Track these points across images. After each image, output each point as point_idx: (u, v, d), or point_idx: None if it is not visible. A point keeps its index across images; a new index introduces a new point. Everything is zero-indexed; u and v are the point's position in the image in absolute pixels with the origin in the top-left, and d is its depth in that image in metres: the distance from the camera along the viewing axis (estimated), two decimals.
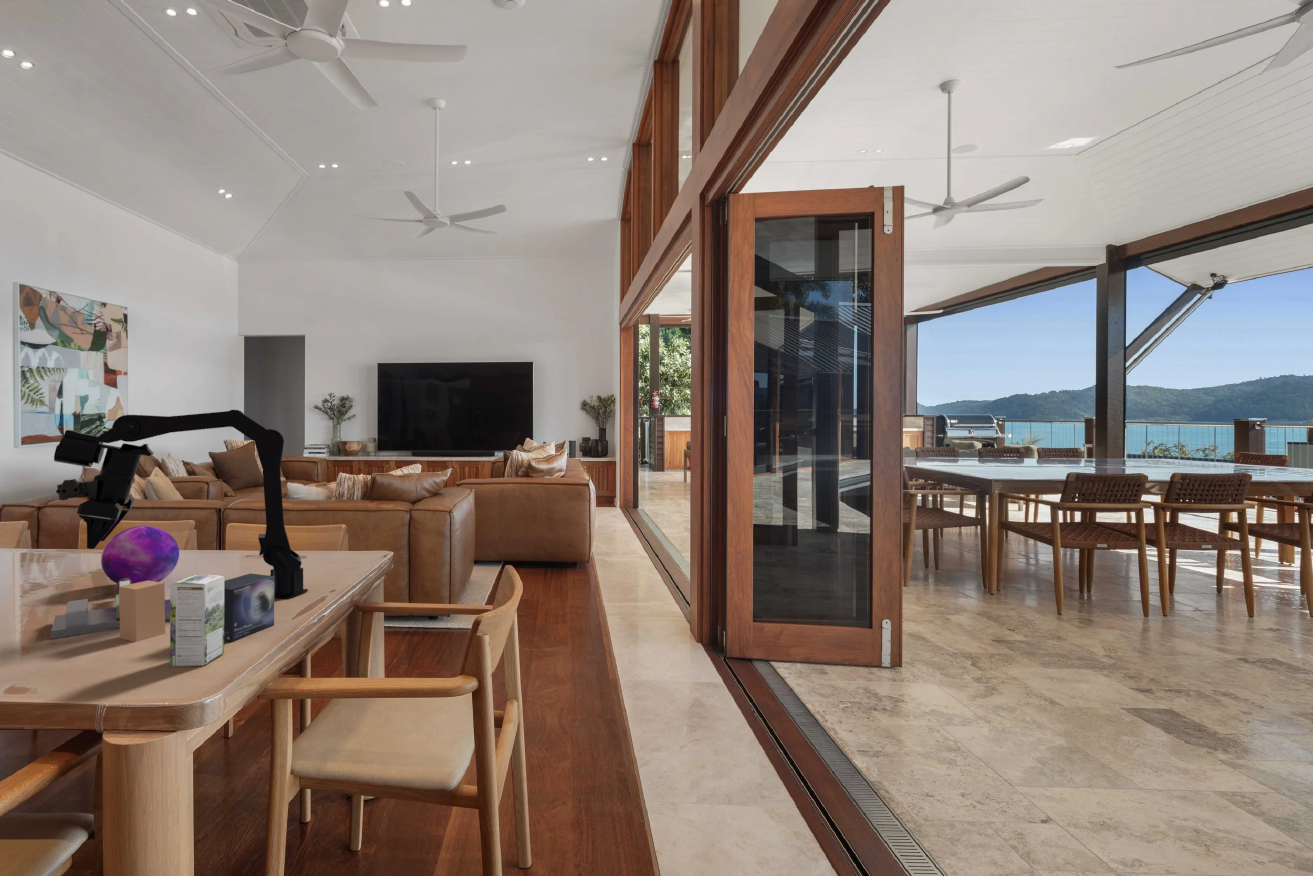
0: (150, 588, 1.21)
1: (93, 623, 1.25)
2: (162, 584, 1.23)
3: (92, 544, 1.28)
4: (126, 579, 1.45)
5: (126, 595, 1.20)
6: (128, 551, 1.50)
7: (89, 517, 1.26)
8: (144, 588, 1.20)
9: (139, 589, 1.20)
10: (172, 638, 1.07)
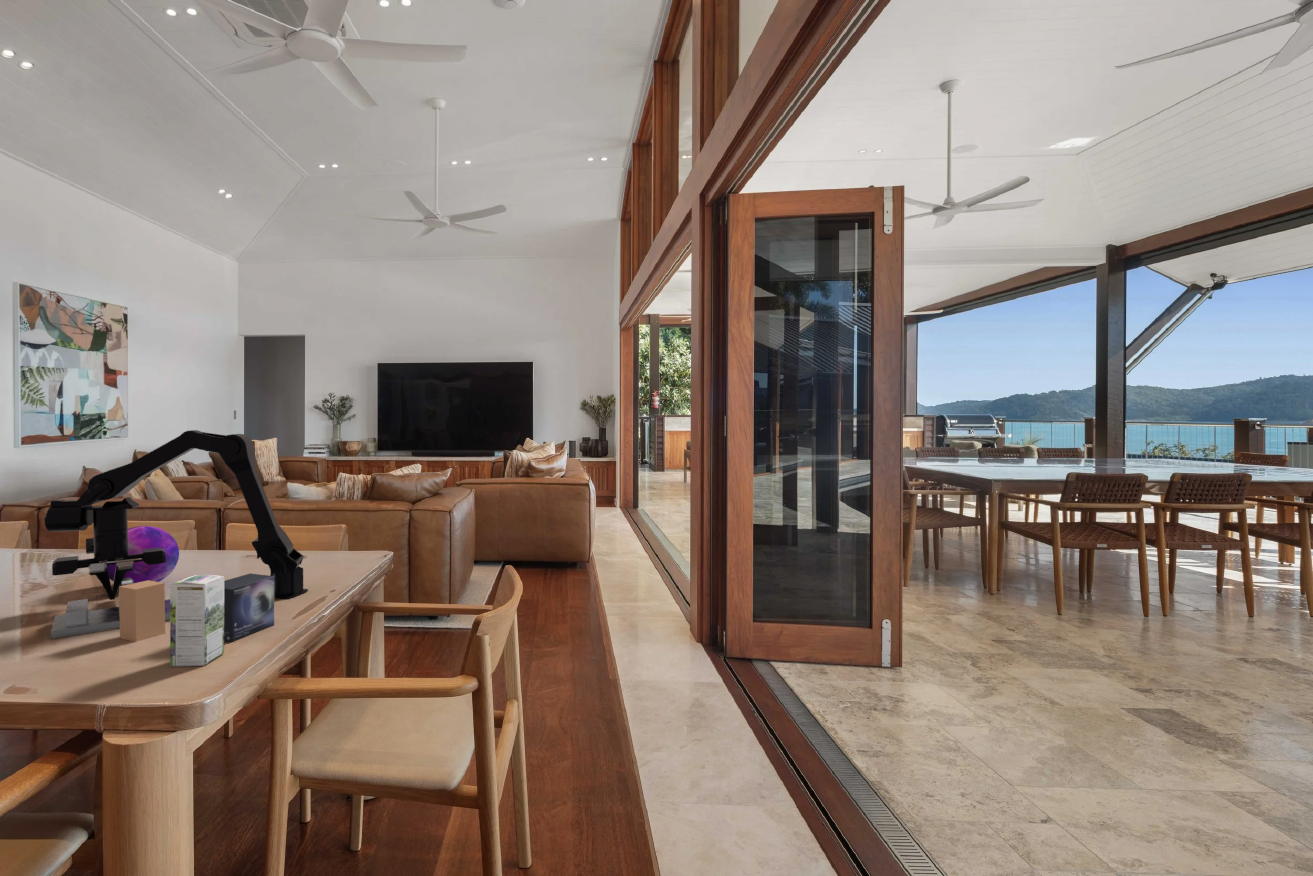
0: (150, 588, 1.21)
1: (93, 623, 1.25)
2: (162, 584, 1.23)
3: (108, 595, 1.39)
4: (128, 579, 1.46)
5: (126, 595, 1.20)
6: (128, 551, 1.50)
7: None
8: (144, 588, 1.20)
9: (139, 589, 1.20)
10: (172, 638, 1.07)
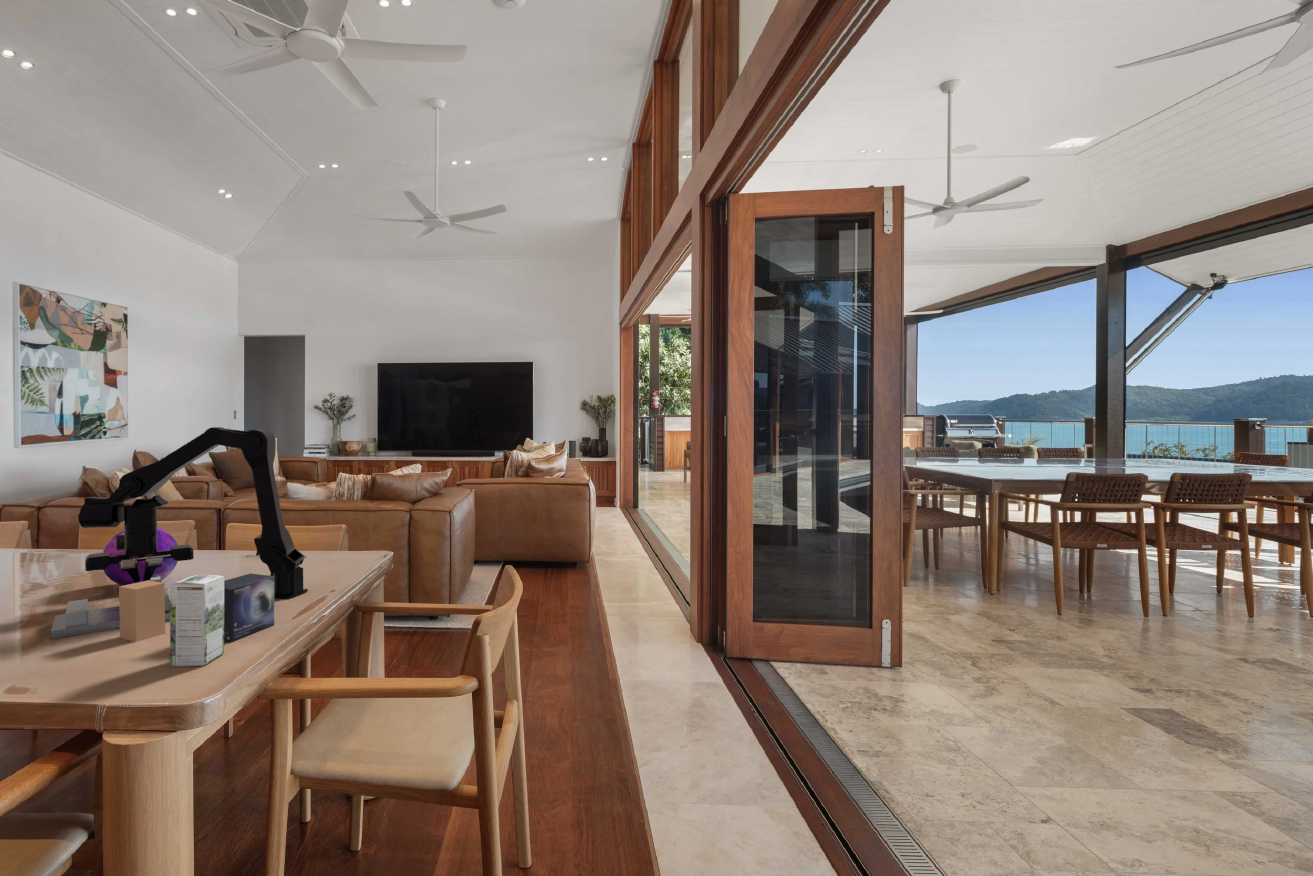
0: (150, 588, 1.21)
1: (93, 623, 1.25)
2: (162, 584, 1.23)
3: None
4: (156, 575, 1.49)
5: (126, 595, 1.20)
6: None
7: (120, 566, 1.41)
8: (144, 588, 1.20)
9: (139, 589, 1.20)
10: (172, 638, 1.07)
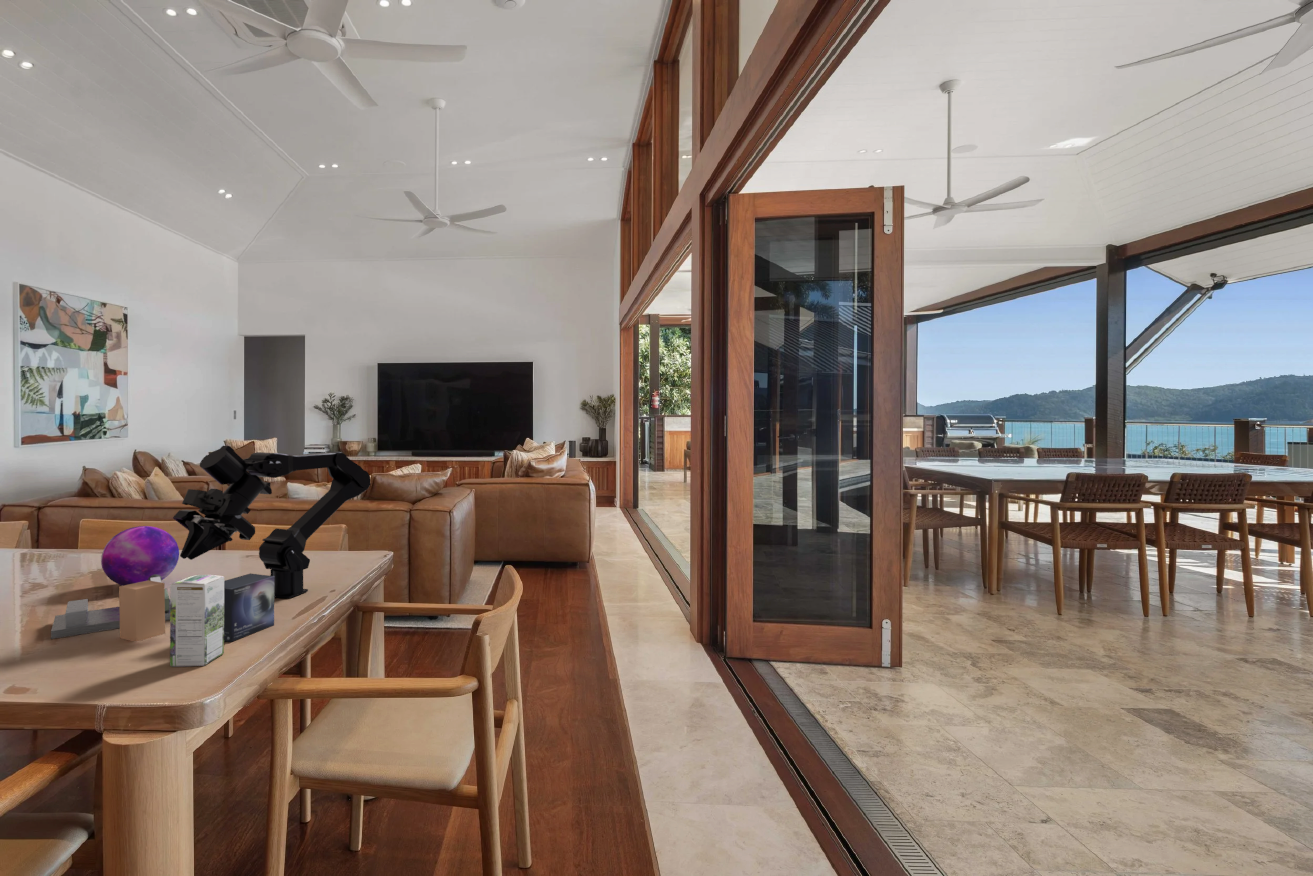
0: (150, 588, 1.21)
1: (93, 623, 1.25)
2: (162, 584, 1.23)
3: (195, 554, 1.30)
4: (156, 575, 1.49)
5: (126, 595, 1.20)
6: (128, 551, 1.50)
7: (219, 529, 1.32)
8: (144, 588, 1.20)
9: (139, 589, 1.20)
10: (172, 638, 1.07)
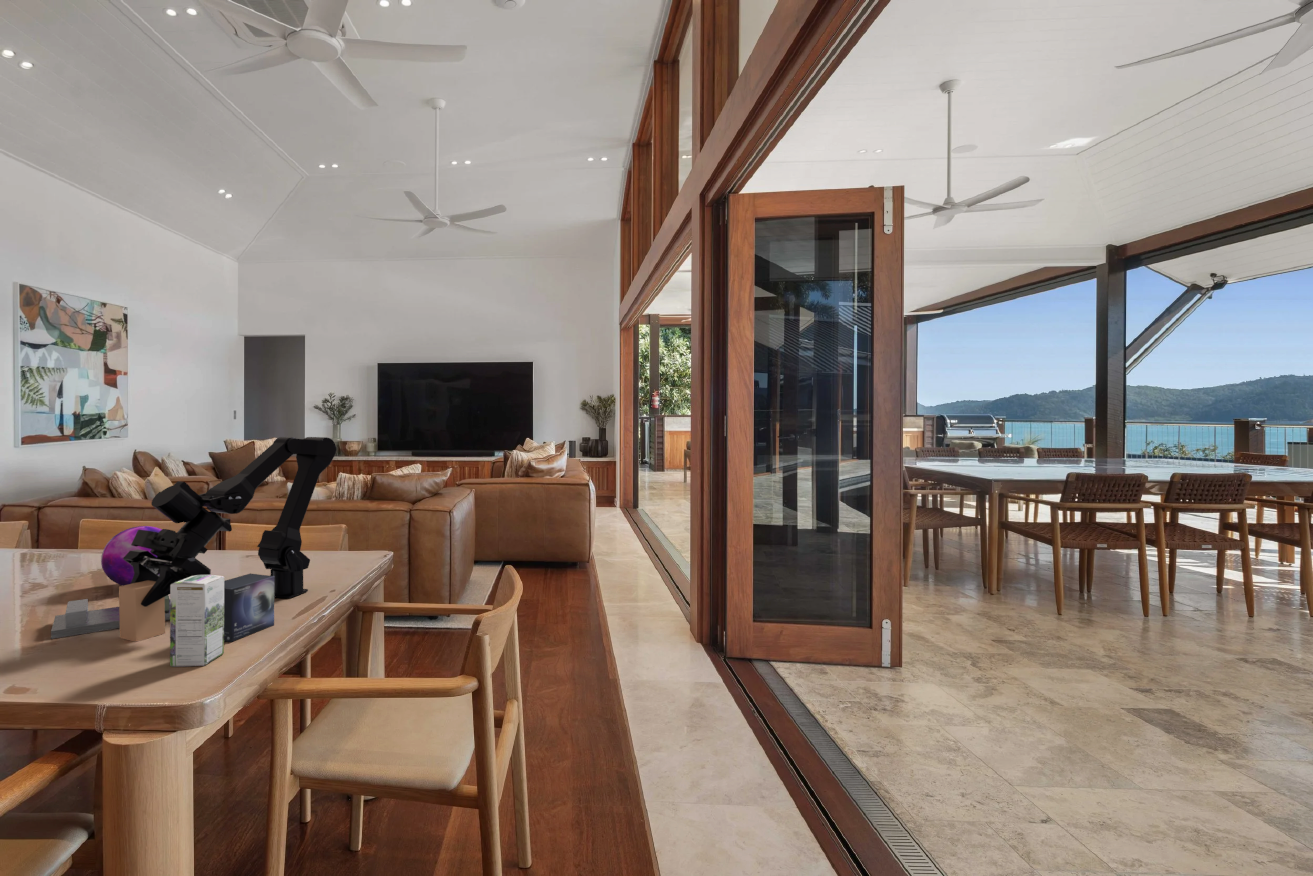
0: (149, 588, 1.21)
1: (93, 623, 1.25)
2: None
3: (149, 601, 1.21)
4: None
5: (126, 595, 1.20)
6: (128, 551, 1.50)
7: (176, 573, 1.22)
8: (144, 588, 1.20)
9: (139, 589, 1.20)
10: (172, 638, 1.07)
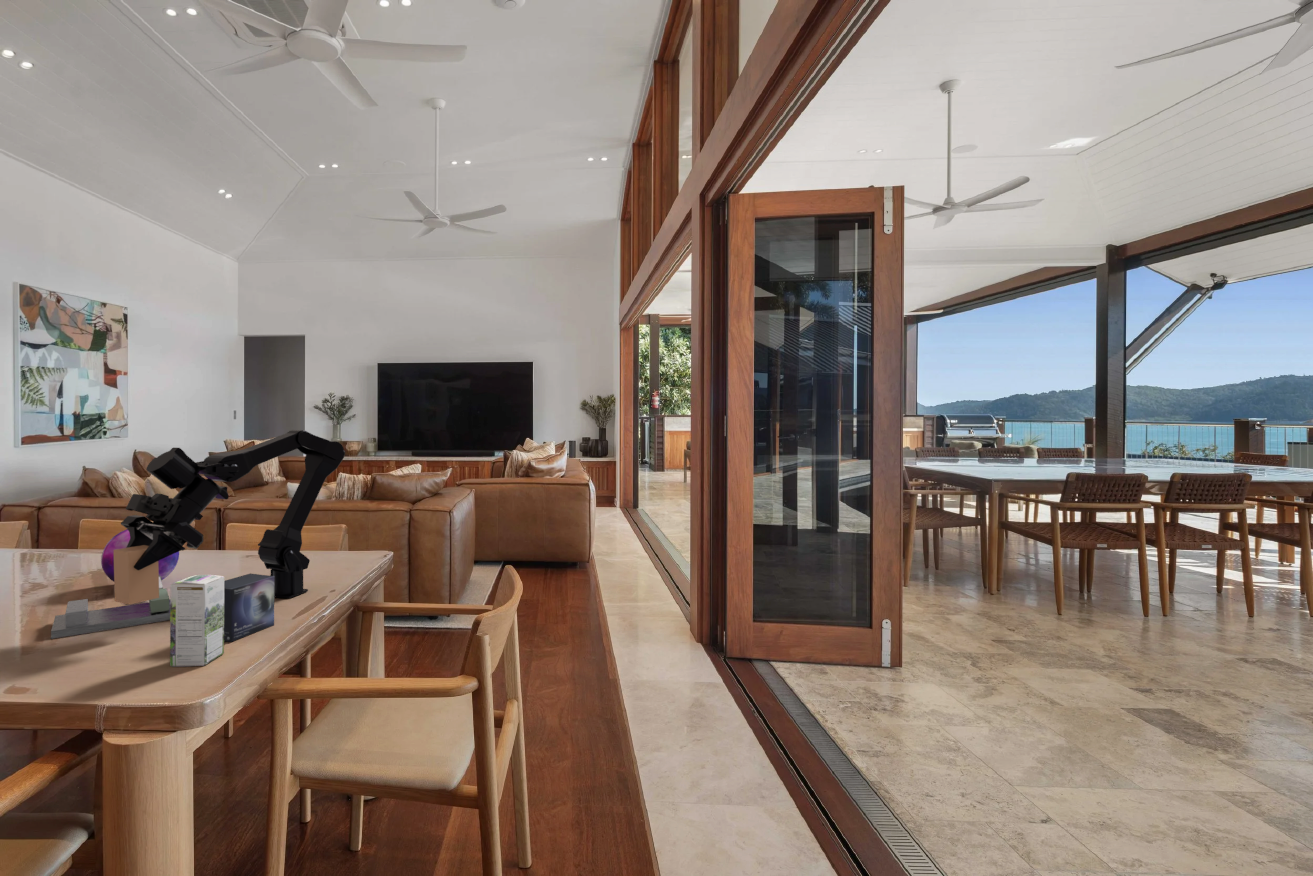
0: (143, 552, 1.22)
1: (93, 623, 1.25)
2: None
3: (142, 565, 1.21)
4: None
5: (119, 559, 1.21)
6: None
7: (169, 537, 1.23)
8: (137, 551, 1.21)
9: (132, 552, 1.20)
10: (172, 638, 1.07)
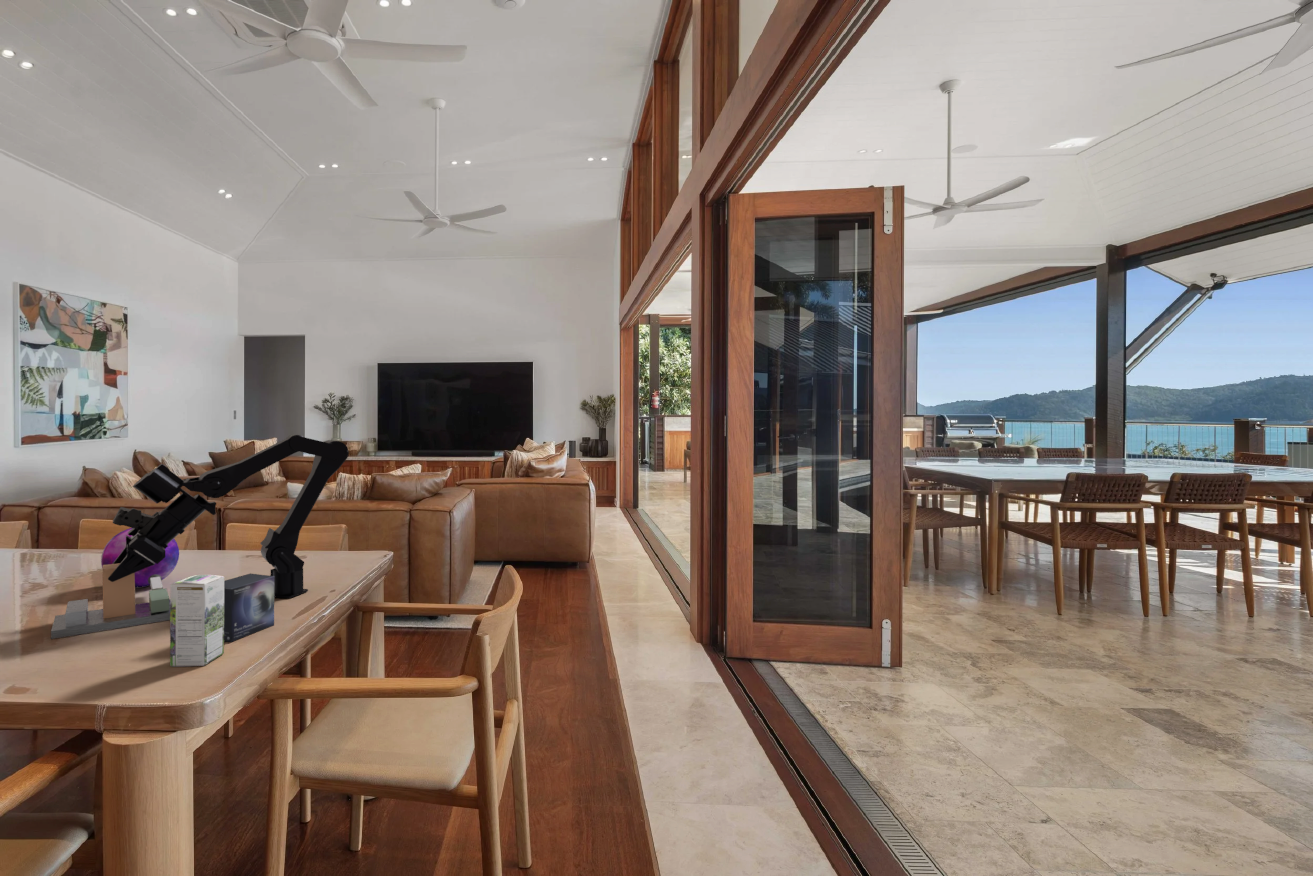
0: None
1: (93, 623, 1.25)
2: None
3: (115, 577, 1.27)
4: (156, 575, 1.49)
5: None
6: None
7: (135, 553, 1.26)
8: (112, 569, 1.28)
9: (106, 570, 1.28)
10: (172, 638, 1.07)
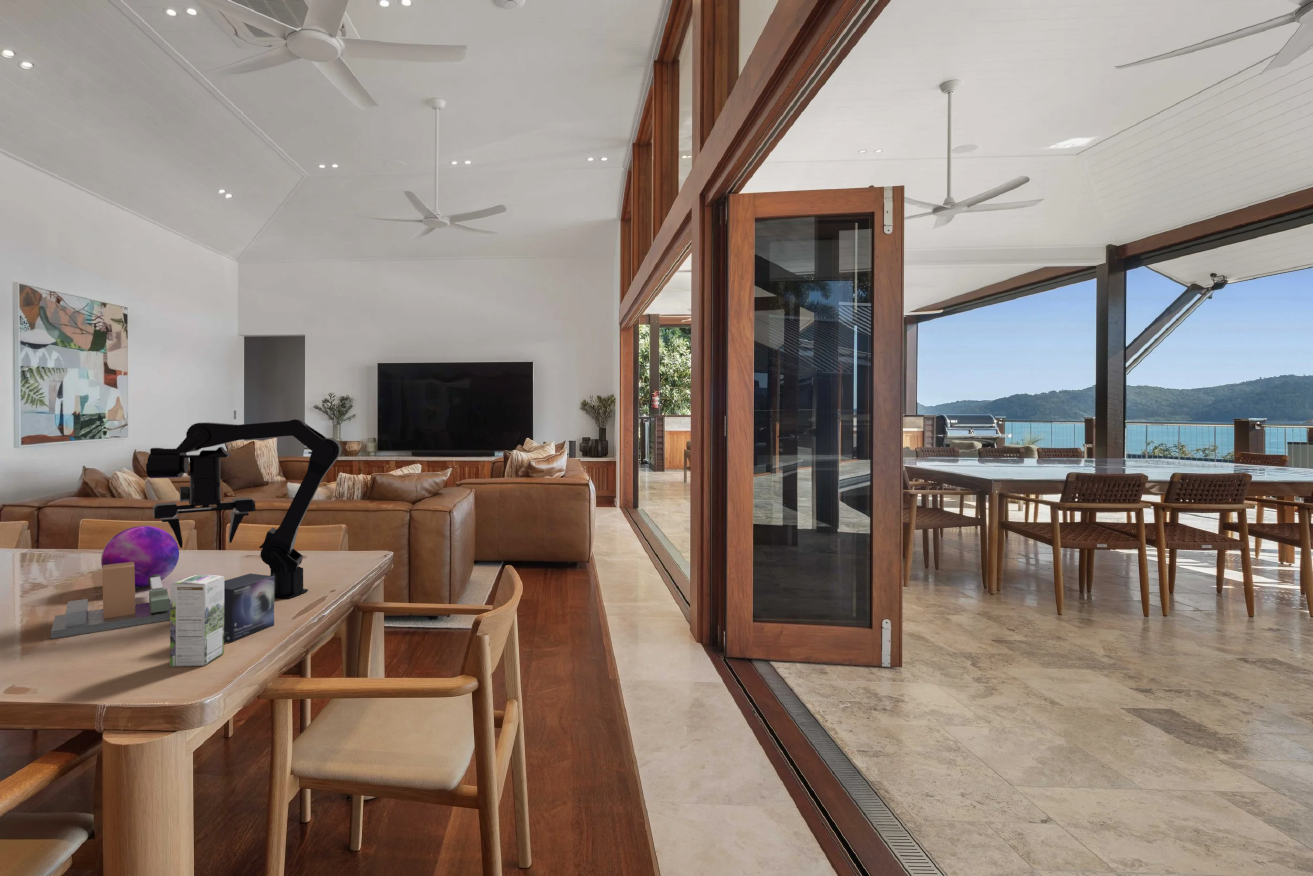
0: (118, 569, 1.29)
1: (93, 623, 1.25)
2: (132, 567, 1.30)
3: (178, 543, 1.41)
4: (156, 575, 1.49)
5: None
6: (128, 551, 1.50)
7: None
8: (112, 569, 1.28)
9: (106, 570, 1.28)
10: (172, 638, 1.07)
